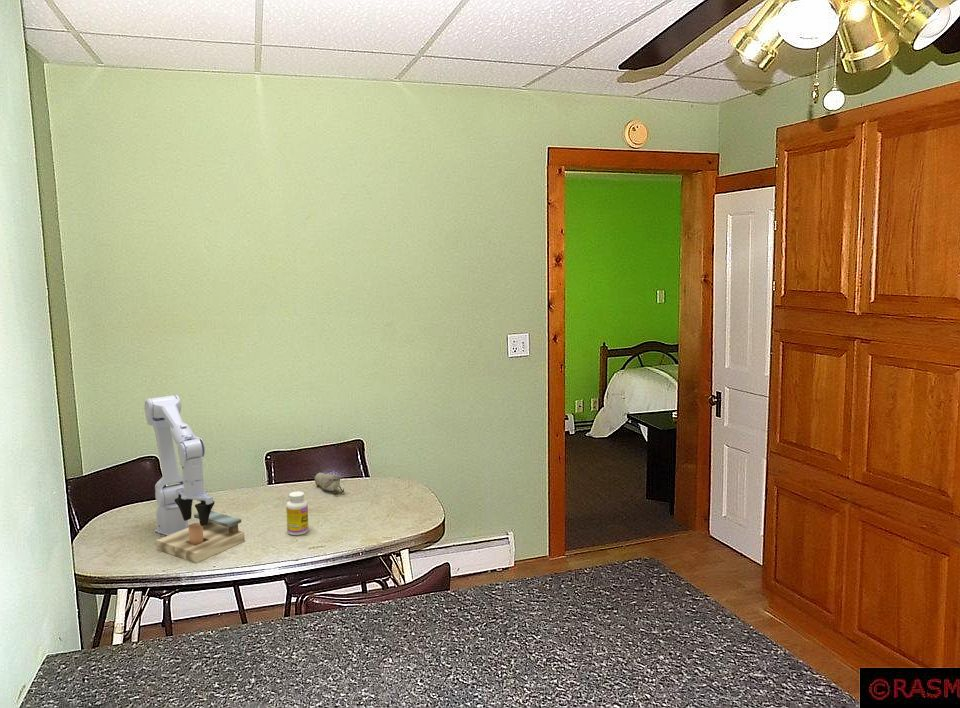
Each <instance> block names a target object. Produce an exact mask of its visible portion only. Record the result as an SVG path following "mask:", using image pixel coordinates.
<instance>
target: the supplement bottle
mask: <svg viewBox="0 0 960 708" xmlns="http://www.w3.org/2000/svg"><path fill="white" fill-rule="evenodd" d="M288 498H289V501H288V502H287V503H286V505H285V507H286V529H287V530H286V531H287V533H288V534H289V535H291V536H301V535H305V534H306V533H307V532H308V531H309V513H308V512H309V510H308V509H309V507H308V506H309V505H308V501H307V500H306V499H305V493H304V492H303V491H299V490H297V491H292V492H290V493H289V495H288Z"/></svg>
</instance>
